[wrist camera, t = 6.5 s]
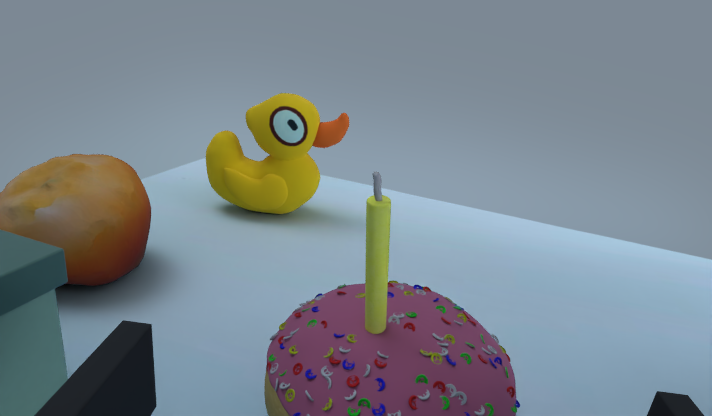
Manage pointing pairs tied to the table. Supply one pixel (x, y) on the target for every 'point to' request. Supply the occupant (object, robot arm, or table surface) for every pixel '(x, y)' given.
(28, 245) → the lunchbox
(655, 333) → the table surface
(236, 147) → the duckling
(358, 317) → the cupcake
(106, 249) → the fruit
